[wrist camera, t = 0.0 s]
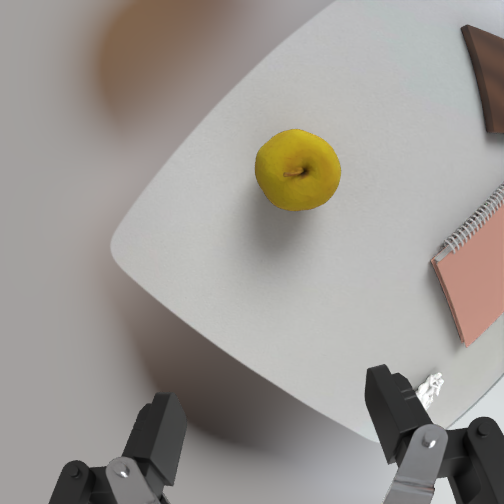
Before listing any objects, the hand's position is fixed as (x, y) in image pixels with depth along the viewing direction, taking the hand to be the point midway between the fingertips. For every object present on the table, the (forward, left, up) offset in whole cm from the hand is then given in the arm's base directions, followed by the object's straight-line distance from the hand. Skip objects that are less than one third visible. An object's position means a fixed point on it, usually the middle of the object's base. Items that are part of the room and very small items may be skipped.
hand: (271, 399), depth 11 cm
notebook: (+3, +34, -18) cm, 39 cm away
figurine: (+25, +21, -18) cm, 37 cm away
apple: (-8, +4, -18) cm, 20 cm away
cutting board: (-18, +36, -18) cm, 44 cm away
